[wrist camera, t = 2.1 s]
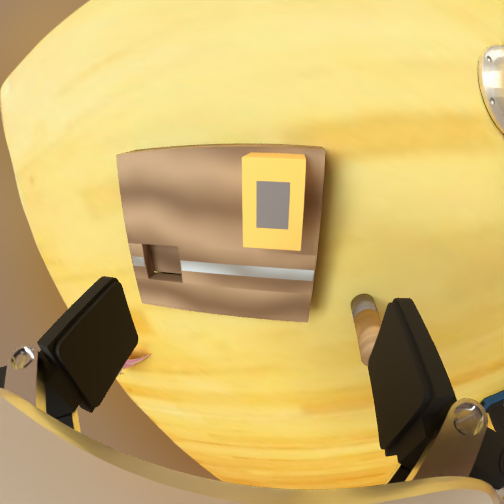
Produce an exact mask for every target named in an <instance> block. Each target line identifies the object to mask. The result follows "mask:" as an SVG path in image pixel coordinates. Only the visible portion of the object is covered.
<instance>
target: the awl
mask: <svg viewBox="0 0 504 504" xmlns="http://www.w3.org/2000/svg"><path fill="white" fill-rule="evenodd" d="M351 310H352V314H353V319H354V323H355V328H356V333H357V338H358V343H359V348H360V354H361V359H362V362H363V364H364V365H367V366H368V361H369V357H370V355H371V352H372V349H373V347H374V344H375V341H376V338H377V336H378V333H379V330H380V327H381V321H380V318H379V315H378V312H377V309H376V306H375V303H374V300H373V298H372V297H371V296H370V295H368V294H360V295H358V296H356V297H355V298H354V299H353V300H352V302H351Z"/></svg>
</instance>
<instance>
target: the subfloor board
mask: <svg viewBox="0 0 504 504" xmlns="http://www.w3.org/2000/svg"><path fill="white" fill-rule="evenodd" d="M251 152H262V153H290V154H304V155H305V158H306V173H305V193H304V210H303V225H302V238H301V251H295V250H280V249H265V248H250V247H243V212H242V157H243V156H245V155H247V154H249V153H251ZM116 158H117V168H118V178H119V186H120V194H121V201H122V208H123V215H124V221H125V227H126V232H127V238H128V243H129V248H130V253H131V258H132V263H133V267H134V272H135V276H136V280H137V284H138V288H139V292H140V296H141V300H142V303H144V304H150V305H156V306H162V307H169V308H175V309H182V310H189V311H196V312H204V313H212V314H220V315H229V316H238V317H248V318H258V319H269V320H281V321H294V322H308V318H309V311H310V305H311V298H312V291H313V283H314V276H315V268H316V259H317V250H318V241H319V231H320V221H321V209H322V197H323V183H324V167H325V149H323V148H322V147H317V146H303V145H283V144H207V145H187V146H172V147H161V148H150V149H141V150H134V151H130V152H126V153H122V154H118V155H116ZM154 271H159V272H168V273H178V274H182V275H173V274H164V273H155V272H154Z"/></svg>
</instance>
